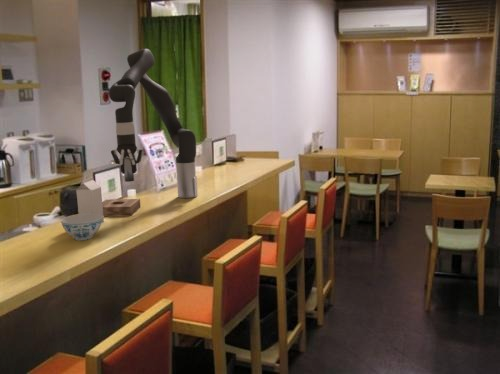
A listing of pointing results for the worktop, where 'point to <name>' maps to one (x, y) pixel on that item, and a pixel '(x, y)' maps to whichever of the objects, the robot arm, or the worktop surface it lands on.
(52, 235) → the worktop surface
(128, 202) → the block
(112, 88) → the robot arm
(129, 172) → the grey upright bar
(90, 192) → the milk carton
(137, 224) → the worktop surface
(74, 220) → the chinaware
